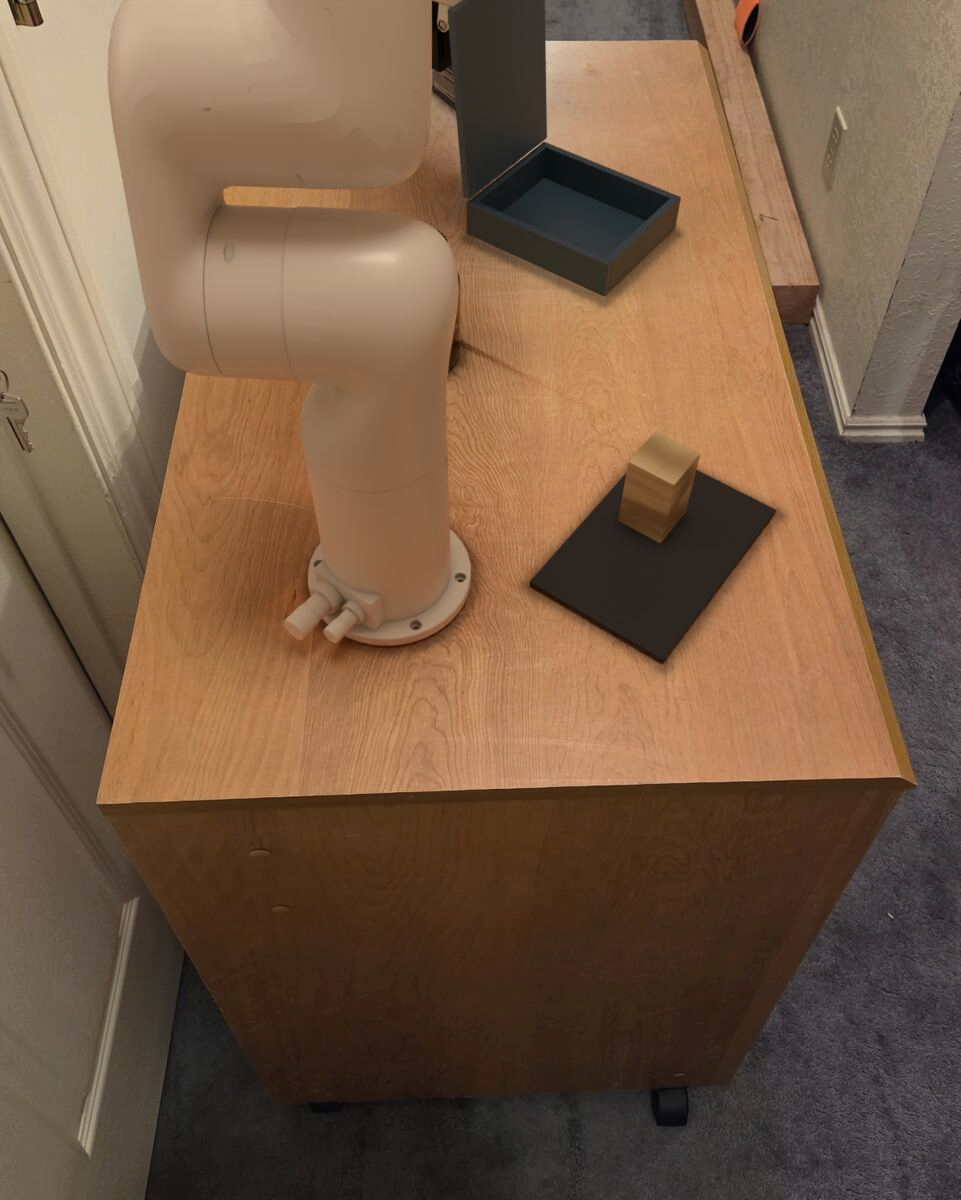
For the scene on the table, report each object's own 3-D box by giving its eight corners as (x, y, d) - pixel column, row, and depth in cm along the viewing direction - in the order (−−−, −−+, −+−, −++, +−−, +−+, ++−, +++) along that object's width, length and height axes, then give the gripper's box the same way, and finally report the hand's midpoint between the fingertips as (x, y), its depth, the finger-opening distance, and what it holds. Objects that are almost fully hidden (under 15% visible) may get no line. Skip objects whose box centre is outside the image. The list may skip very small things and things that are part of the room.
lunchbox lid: (544, -47, 95) (537, -48, 95) (454, 11, 89) (447, 9, 89) (547, 138, 109) (541, 136, 109) (469, 199, 102) (462, 197, 103)
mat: (662, 664, 77) (663, 659, 76) (529, 585, 81) (529, 581, 80) (774, 514, 85) (776, 509, 85) (649, 450, 89) (650, 445, 89)
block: (660, 544, 83) (674, 485, 77) (617, 521, 84) (628, 461, 78) (685, 513, 84) (700, 453, 79) (643, 491, 86) (655, 430, 80)
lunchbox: (674, 234, 107) (681, 197, 104) (603, 302, 101) (608, 265, 97) (541, 178, 113) (543, 141, 109) (466, 239, 106) (466, 202, 103)
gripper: (339, -162, 88) (359, 56, 103) (481, -117, 83) (480, 106, 98) (395, -188, 91) (406, 26, 106) (535, -147, 86) (526, 72, 101)
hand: (442, 64), depth 102 cm, fingers closed
